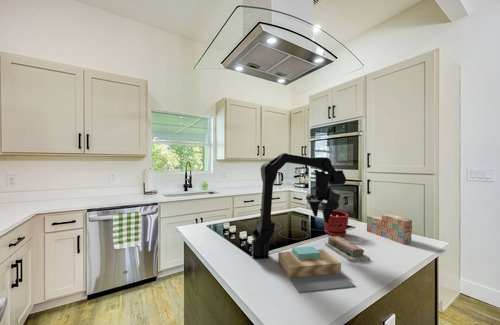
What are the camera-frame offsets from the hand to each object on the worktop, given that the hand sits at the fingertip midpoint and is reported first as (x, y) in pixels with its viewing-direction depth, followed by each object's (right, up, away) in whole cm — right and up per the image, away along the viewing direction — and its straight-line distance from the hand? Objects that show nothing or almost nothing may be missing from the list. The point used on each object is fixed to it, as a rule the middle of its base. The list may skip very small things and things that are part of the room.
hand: (320, 219), depth 98 cm
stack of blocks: (+44, -16, +22) cm, 51 cm away
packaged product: (+12, -16, +1) cm, 19 cm away
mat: (-8, -15, -25) cm, 30 cm away
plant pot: (+16, -15, +24) cm, 32 cm away
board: (-10, -15, -15) cm, 23 cm away
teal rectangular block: (-10, -11, -13) cm, 20 cm away
